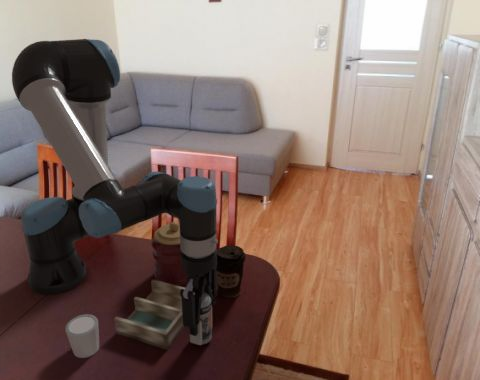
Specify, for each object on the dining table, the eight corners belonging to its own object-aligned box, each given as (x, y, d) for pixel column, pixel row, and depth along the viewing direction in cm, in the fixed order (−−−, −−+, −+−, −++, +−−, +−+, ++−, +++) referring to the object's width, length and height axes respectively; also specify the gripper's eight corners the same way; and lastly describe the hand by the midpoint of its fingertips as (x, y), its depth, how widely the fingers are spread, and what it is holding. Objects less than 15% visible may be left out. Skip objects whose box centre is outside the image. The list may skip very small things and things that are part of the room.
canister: (206, 267, 121) (204, 215, 114) (189, 293, 110) (186, 237, 102) (166, 260, 124) (162, 209, 117) (146, 284, 113) (140, 230, 106)
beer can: (195, 348, 91) (194, 307, 86) (188, 335, 95) (186, 294, 90) (215, 341, 93) (214, 300, 88) (207, 328, 97) (206, 288, 92)
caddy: (116, 333, 96) (114, 318, 94) (154, 292, 110) (152, 279, 108) (167, 350, 91) (166, 334, 89) (199, 305, 105) (199, 291, 103)
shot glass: (75, 338, 94) (70, 314, 91) (105, 336, 95) (101, 313, 92) (66, 361, 88) (60, 336, 85) (98, 359, 88) (93, 335, 86)
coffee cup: (241, 303, 106) (241, 262, 101) (210, 299, 107) (209, 258, 102) (247, 283, 114) (248, 244, 108) (219, 280, 115) (218, 241, 110)
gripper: (195, 277, 75) (198, 368, 85) (231, 233, 90) (231, 314, 100) (160, 268, 77) (167, 357, 87) (201, 226, 93) (203, 306, 102)
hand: (201, 334), depth 93 cm, fingers closed on beer can, 5 cm apart
